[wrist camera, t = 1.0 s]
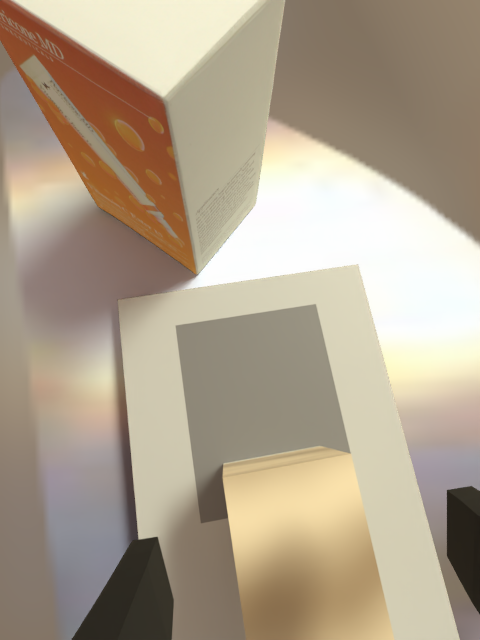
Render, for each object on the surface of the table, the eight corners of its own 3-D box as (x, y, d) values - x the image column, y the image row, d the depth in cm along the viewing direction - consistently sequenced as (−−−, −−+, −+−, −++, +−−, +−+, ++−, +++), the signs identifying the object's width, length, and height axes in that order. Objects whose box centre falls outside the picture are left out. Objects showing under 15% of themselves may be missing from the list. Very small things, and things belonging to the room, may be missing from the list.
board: (454, 656, 18) (467, 669, 17) (160, 725, 17) (156, 744, 16) (352, 271, 23) (357, 264, 22) (122, 305, 22) (117, 299, 21)
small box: (96, 208, 23) (-55, -40, 11) (160, 141, 25) (93, -145, 12) (198, 280, 22) (163, 98, 10) (259, 205, 24) (295, -34, 11)
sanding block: (363, 652, 17) (419, 745, 12) (255, 677, 16) (267, 783, 12) (319, 445, 19) (351, 453, 14) (223, 463, 19) (222, 477, 14)
